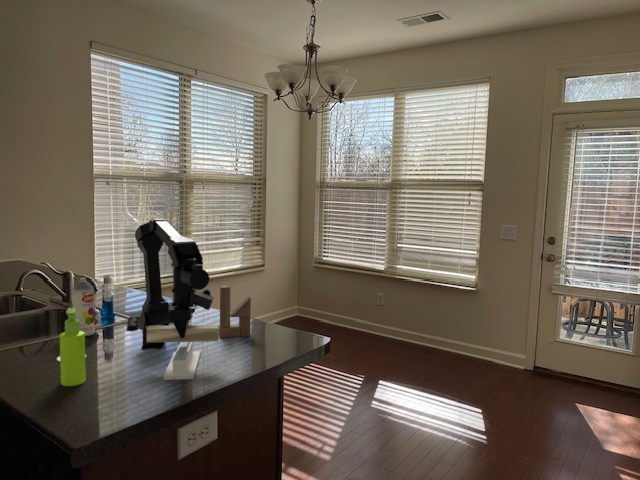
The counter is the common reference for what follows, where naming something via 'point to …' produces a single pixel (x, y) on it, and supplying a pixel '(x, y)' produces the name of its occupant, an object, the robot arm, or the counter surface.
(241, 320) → the wooden block
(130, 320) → the door handle
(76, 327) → the soap dispenser
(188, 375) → the ridge stand
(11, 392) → the counter surface
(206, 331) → the birch bar
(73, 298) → the aerosol can
